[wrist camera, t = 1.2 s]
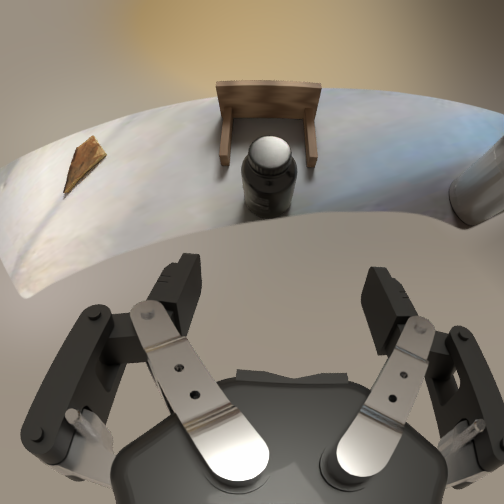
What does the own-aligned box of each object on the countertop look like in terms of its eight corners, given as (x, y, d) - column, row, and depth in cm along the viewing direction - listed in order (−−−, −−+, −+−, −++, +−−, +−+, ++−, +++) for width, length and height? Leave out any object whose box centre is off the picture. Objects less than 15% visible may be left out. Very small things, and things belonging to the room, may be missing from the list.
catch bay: (313, 115, 45) (320, 83, 37) (319, 167, 42) (329, 138, 34) (222, 113, 45) (216, 81, 38) (216, 165, 43) (208, 135, 35)
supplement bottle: (300, 205, 41) (313, 162, 29) (260, 228, 40) (259, 190, 28) (275, 170, 42) (279, 120, 31) (236, 190, 42) (227, 144, 30)
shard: (67, 196, 43) (62, 192, 42) (56, 173, 45) (51, 169, 43) (109, 156, 45) (105, 151, 43) (95, 136, 46) (91, 131, 45)
